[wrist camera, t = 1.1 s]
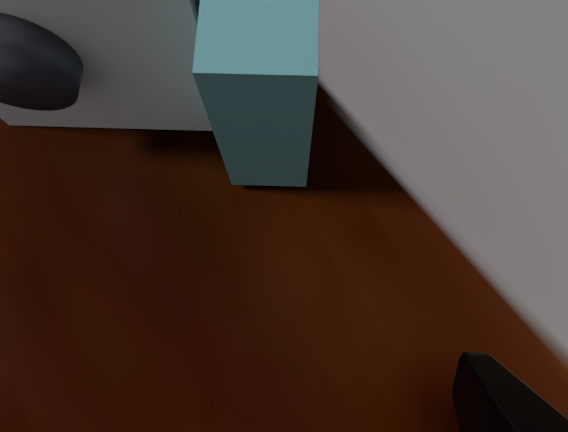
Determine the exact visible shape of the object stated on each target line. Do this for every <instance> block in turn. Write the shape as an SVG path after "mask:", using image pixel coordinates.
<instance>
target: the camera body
mask: <svg viewBox="0 0 568 432" xmlns="http://www.w3.org/2000/svg"><path fill="white" fill-rule="evenodd" d="M199 4H200V0H0V118H1V119H2V120H3V121H5V122H6V123H7V124H9V125H16V126H52V127H89V128H125V129H161V130H198V131H213V130H212V127H211V124H210V122H209V119H208V116H207V113H206V110H205V107H204V105H203V102H202V99H201V96H200V93H199V90H198V88H197V85H196V82H195V79H194V76H193V73H192V71H193V61H194V52H195V42H196V33H197V23H198V14H199Z"/></svg>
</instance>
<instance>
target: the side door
mask: <svg viewBox="0 0 568 432" xmlns="http://www.w3.org/2000/svg"><path fill="white" fill-rule="evenodd" d="M318 56H319V0H200V4H199V14H198V23H197V33H196V42H195V52H194V61H193V71H192V73H193V76H194V79H195V82H196V85H197V88H198V90H199V93H200V96H201V99H202V102H203V105H204V107H205V110H206V113H207V116H208V119H209V122H210V124H211V127H212V130H213V133H214V136H215V139H216V142H217V144H218V147H219V150H220V153H221V156H222V159H223V161H224V164H225V167H226V170H227V173H228V176H229V178H230V181H231V184H232V185H262V186H295V187H306V183H307V174H308V165H309V156H310V147H311V137H312V128H313V119H314V110H315V101H316V92H317V83H318V61H319V57H318Z"/></svg>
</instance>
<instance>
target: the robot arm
mask: <svg viewBox="0 0 568 432" xmlns="http://www.w3.org/2000/svg"><path fill="white" fill-rule="evenodd" d="M452 393H453V402H454V406H455V411H456V415H457V419H458V424H459V428H460V432H568V419H567V418H566V417H565V416H564V415H562V414H561V413H560V412H559V411H558V410H556V409H555V408H554V407H553V406H552V405H550V404H549V403H548V402H547V401H546V400H544V399H543V398H542V397H541V396H540V395H538V394H537V393H536V392H535V391H534V390H532V389H531V388H530V387H529V386H527V385H526V384H525V383H524V382H523V381H521V380H520V379H519V378H518V377H517V376H515V375H514V374H513V373H512V372H511V371H509V370H508V369H507V368H506V367H505V366H503V365H502V364H501V363H500V362H498V361H497V360H496V359H495V358H494V357H492V356H491V355H490V354H488V353H484V352H465V353H462V354H461V356H460V358H459V362H458V366H457V370H456V375H455V379H454V384H453V391H452Z"/></svg>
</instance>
